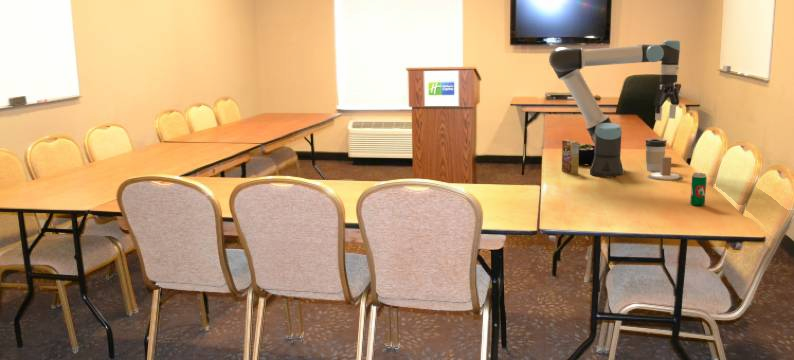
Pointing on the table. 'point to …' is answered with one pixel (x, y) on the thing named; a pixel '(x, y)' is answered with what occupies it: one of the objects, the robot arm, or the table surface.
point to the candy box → (570, 156)
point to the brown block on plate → (665, 170)
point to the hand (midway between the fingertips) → (665, 119)
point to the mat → (664, 180)
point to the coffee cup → (654, 154)
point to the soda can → (698, 189)
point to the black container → (586, 154)
